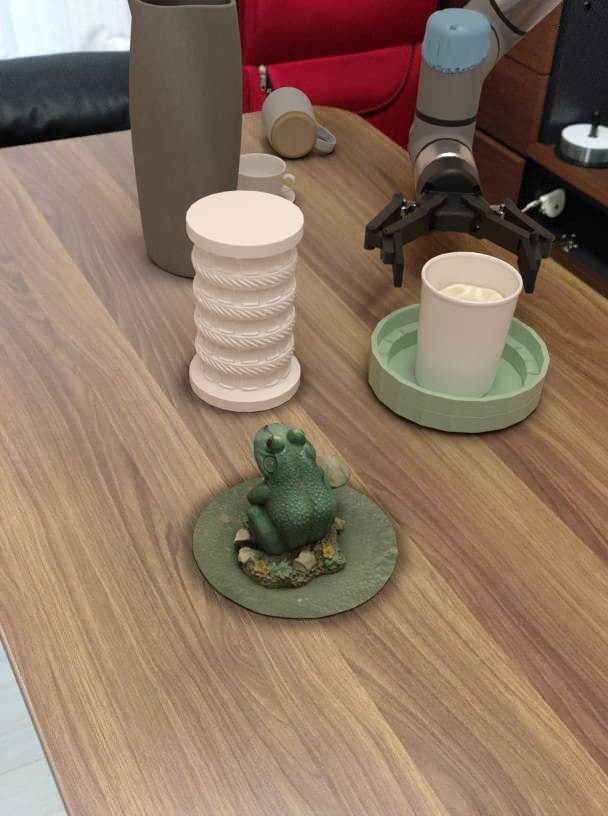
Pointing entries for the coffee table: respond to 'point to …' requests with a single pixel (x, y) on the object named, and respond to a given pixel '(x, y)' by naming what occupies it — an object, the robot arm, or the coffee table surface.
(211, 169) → the vase
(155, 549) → the coffee table surface
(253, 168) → the teacup
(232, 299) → the decorative container
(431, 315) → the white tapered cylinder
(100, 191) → the coffee table surface
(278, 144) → the ceramic mug
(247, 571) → the frog figurine
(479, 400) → the bowl
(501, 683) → the coffee table surface
